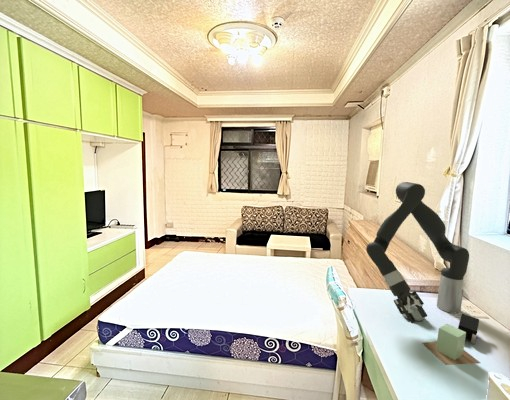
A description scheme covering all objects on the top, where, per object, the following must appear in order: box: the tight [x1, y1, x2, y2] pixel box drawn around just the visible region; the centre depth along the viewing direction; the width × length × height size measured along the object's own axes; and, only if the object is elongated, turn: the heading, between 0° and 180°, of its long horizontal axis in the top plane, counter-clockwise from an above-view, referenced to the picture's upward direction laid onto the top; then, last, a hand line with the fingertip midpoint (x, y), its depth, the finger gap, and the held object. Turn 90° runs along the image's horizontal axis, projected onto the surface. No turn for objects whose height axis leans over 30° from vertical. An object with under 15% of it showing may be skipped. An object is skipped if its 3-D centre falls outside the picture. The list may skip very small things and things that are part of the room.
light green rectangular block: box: [436, 323, 466, 360], centre depth 101 cm, size 6×6×9 cm
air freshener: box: [401, 300, 426, 322], centre depth 126 cm, size 11×8×10 cm
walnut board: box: [421, 341, 481, 366], centre depth 102 cm, size 14×12×1 cm
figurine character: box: [457, 313, 480, 345], centre depth 112 cm, size 7×8×15 cm
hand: (419, 319), depth 111 cm, fingers open, 8 cm apart
